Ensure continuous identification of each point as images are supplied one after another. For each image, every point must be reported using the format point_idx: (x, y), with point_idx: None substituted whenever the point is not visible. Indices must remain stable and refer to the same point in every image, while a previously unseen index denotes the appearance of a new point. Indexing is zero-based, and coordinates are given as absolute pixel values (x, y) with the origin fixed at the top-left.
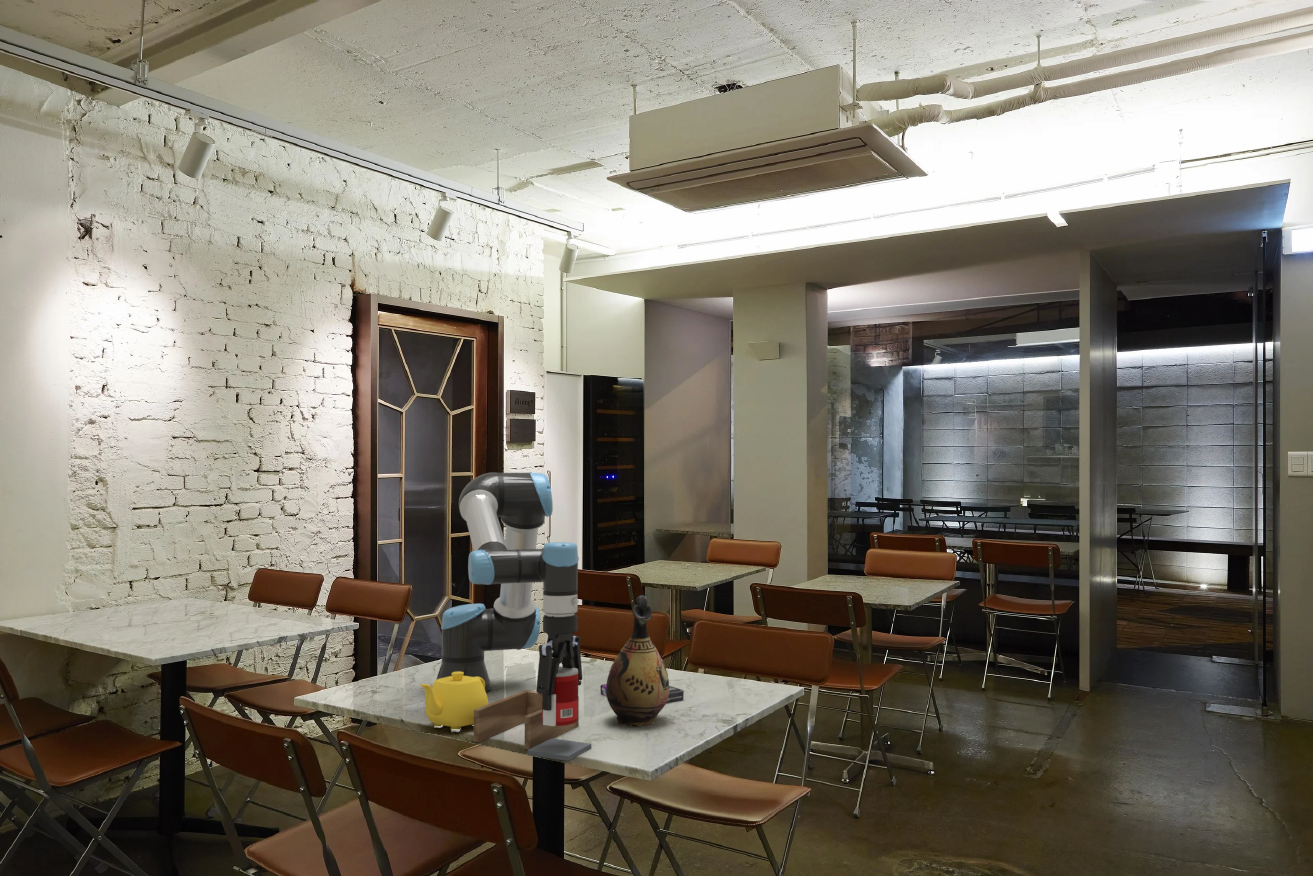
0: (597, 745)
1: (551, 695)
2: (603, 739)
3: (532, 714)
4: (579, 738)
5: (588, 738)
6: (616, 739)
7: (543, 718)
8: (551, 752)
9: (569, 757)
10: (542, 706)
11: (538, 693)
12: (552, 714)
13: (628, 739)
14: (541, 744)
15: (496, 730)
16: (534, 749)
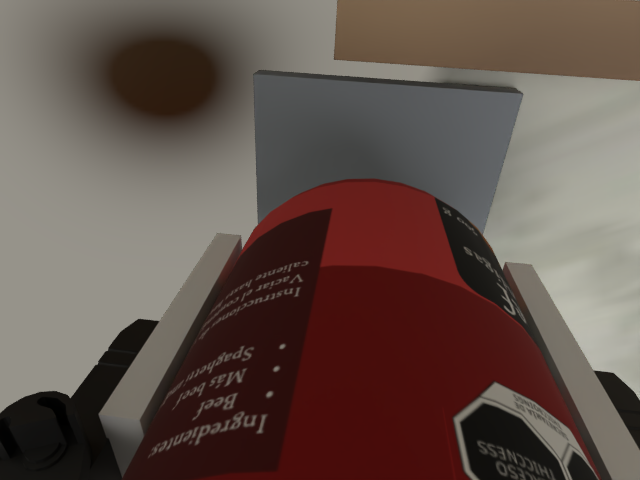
0: None
1: (123, 474)
2: (616, 294)
3: (429, 25)
4: (629, 191)
5: (631, 231)
6: (619, 338)
7: (201, 260)
8: (273, 206)
9: None
10: (246, 263)
11: (33, 394)
12: None
13: (622, 374)
14: (381, 95)
15: None
16: (282, 104)
